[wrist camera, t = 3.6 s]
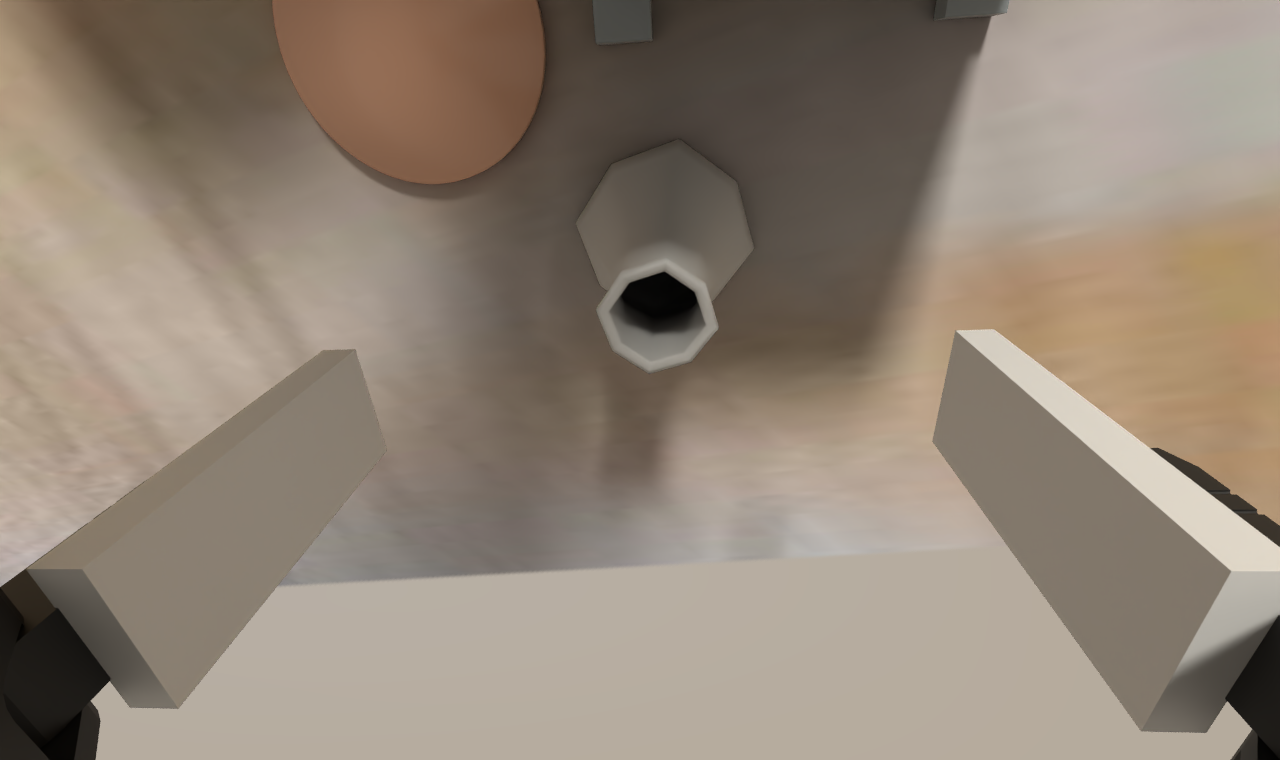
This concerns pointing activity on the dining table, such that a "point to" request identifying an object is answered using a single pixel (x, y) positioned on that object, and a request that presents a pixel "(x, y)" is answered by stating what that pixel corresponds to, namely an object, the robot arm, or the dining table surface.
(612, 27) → the screen
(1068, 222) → the dining table surface
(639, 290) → the flask
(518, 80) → the coaster
